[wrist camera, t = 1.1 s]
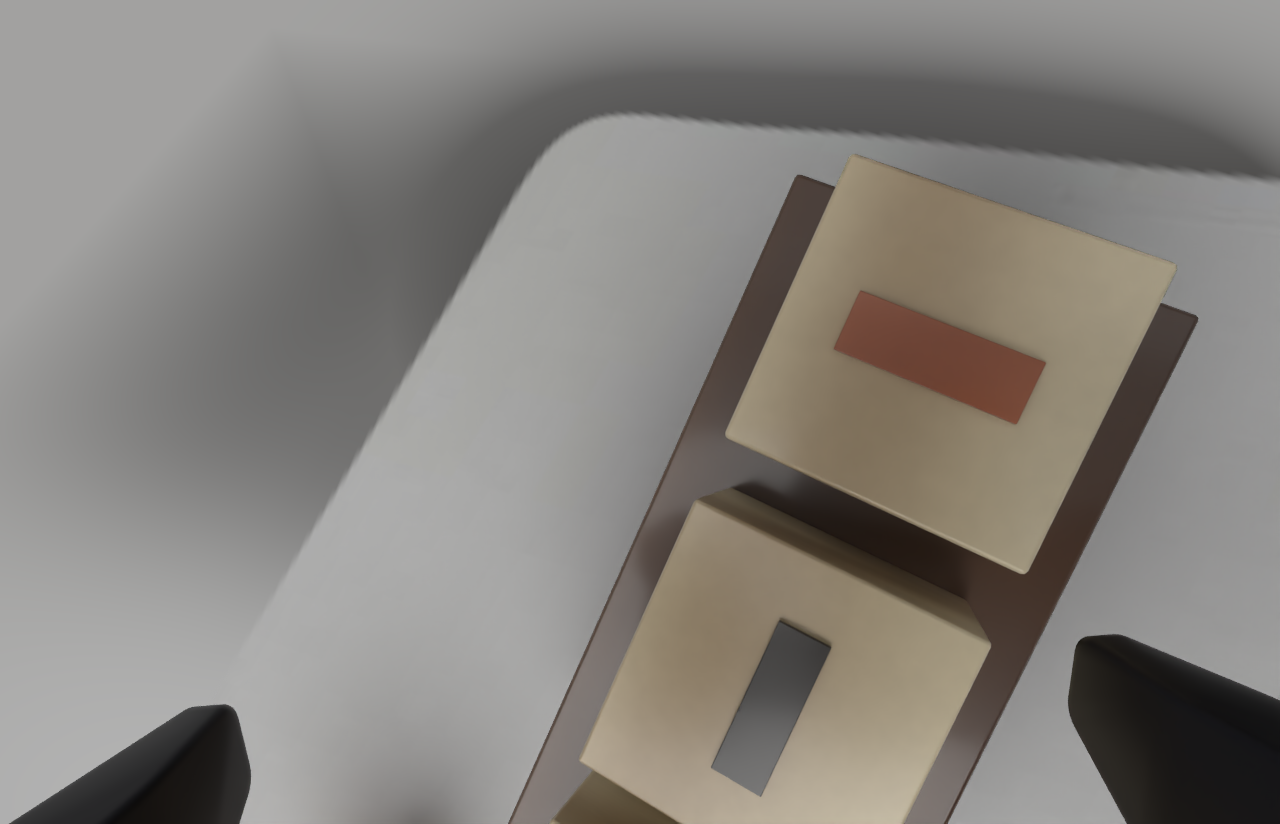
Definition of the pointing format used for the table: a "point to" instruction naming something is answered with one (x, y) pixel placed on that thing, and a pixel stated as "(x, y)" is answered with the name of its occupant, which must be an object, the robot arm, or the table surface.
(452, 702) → the table surface
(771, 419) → the beige block with stripe
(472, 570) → the table surface
